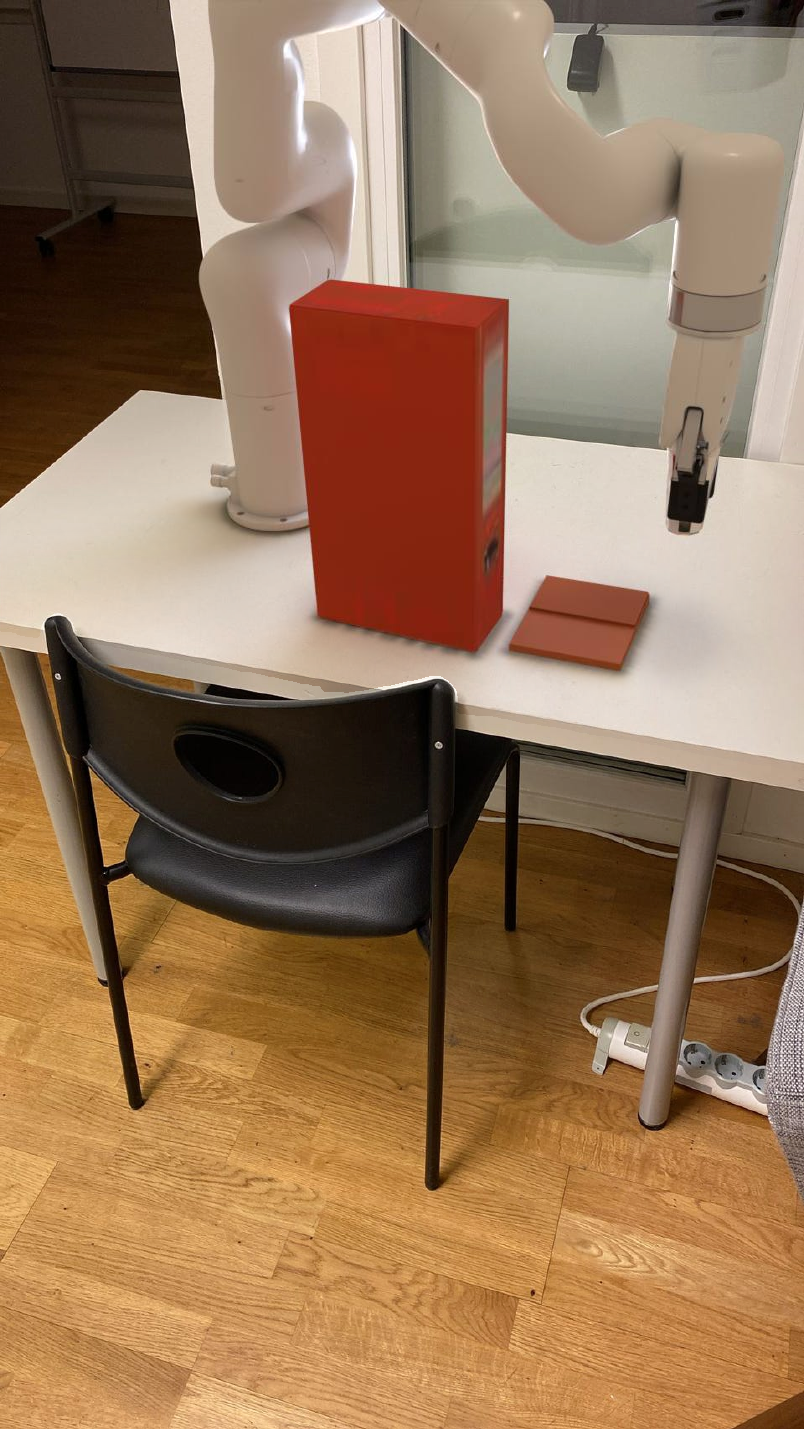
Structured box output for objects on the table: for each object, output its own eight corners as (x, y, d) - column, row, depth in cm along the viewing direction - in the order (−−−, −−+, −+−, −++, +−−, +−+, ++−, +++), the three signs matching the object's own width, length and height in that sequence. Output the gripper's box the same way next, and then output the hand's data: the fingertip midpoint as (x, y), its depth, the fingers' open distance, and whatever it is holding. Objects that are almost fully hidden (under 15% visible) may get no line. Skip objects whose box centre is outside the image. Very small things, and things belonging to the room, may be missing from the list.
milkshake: (718, 542, 105) (733, 437, 99) (657, 538, 106) (669, 434, 100) (718, 518, 109) (732, 415, 103) (659, 514, 110) (670, 412, 104)
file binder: (353, 580, 126) (330, 277, 107) (503, 612, 120) (509, 297, 101) (317, 619, 121) (286, 306, 101) (474, 654, 114) (473, 329, 95)
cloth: (508, 650, 115) (508, 641, 114) (545, 583, 124) (545, 574, 124) (620, 671, 111) (620, 661, 111) (649, 600, 121) (650, 591, 120)
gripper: (688, 269, 102) (667, 462, 113) (647, 336, 90) (628, 546, 101) (777, 275, 100) (746, 472, 111) (747, 346, 88) (716, 559, 99)
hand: (690, 505), depth 106 cm, fingers closed on milkshake, 4 cm apart
